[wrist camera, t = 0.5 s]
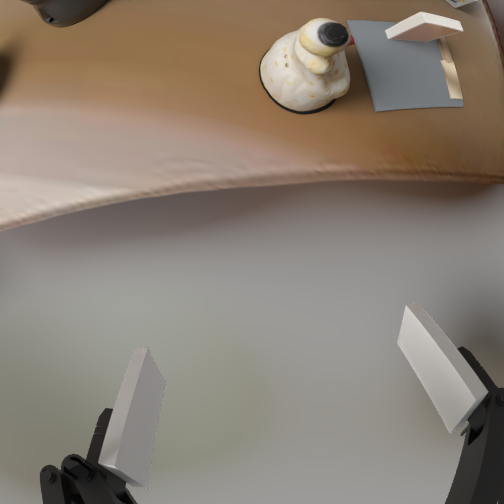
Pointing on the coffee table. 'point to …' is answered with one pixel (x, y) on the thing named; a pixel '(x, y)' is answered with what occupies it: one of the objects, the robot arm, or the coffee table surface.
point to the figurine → (307, 67)
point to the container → (459, 2)
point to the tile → (423, 28)
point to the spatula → (449, 70)
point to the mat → (400, 69)
